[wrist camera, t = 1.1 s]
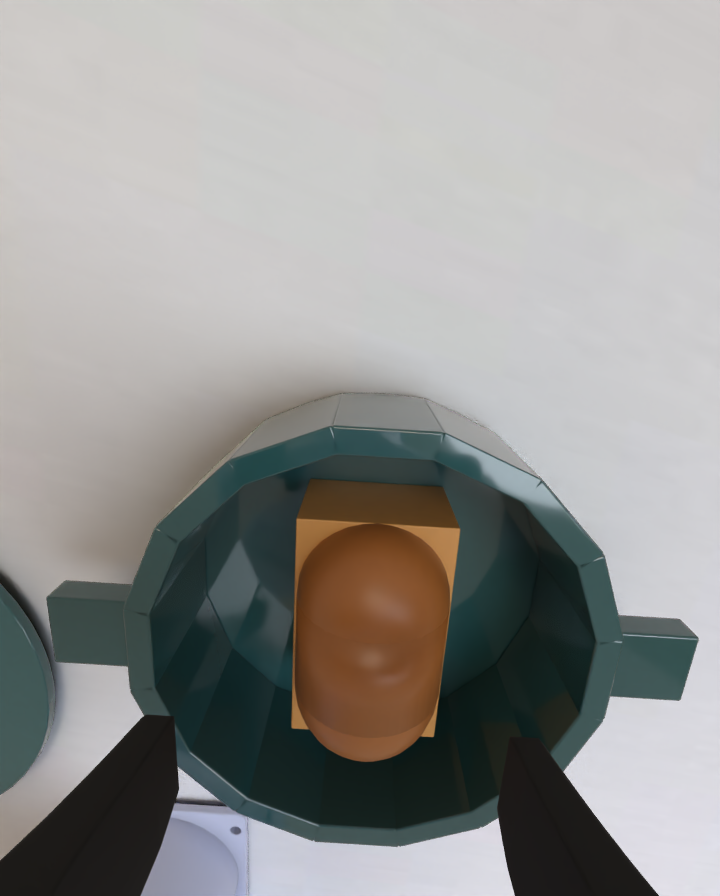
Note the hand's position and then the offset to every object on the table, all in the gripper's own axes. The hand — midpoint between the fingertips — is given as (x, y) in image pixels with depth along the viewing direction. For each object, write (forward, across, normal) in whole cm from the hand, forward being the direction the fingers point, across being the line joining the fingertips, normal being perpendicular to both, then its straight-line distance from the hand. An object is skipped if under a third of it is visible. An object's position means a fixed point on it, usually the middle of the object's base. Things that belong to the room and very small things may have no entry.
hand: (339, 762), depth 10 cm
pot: (+9, -1, +1) cm, 9 cm away
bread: (+9, -1, +1) cm, 9 cm away
